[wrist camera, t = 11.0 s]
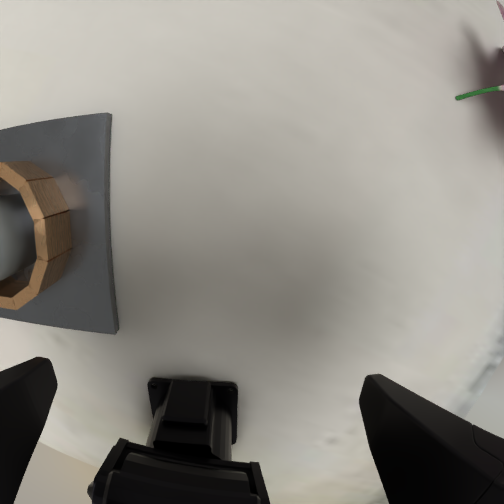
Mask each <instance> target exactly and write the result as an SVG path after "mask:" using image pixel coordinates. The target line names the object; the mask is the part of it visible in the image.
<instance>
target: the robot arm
mask: <svg viewBox="0 0 504 504" xmlns="http://www.w3.org/2000/svg"><path fill="white" fill-rule="evenodd" d="M153 384H156V385H157V386H154V385H153ZM228 389H233V390H232V391H230V390H228ZM56 390H57V379H56V376H55V372H54V369H53V366H52V363H51V361H50V360H49V359H48V358H43V357H35V358H33V359H31V360H28V361H26V362H23V363H21V364H18V365H16V366H13V367H11V368H8V369H6V370H3V371H1V372H0V504H14V501H15V498H16V495H17V492H18V490H19V487H20V484H21V482H22V479H23V476H24V474H25V471H26V468H27V466H28V463H29V461H30V458H31V456H32V454H33V452H34V449H35V447H36V444H37V442H38V440H39V438H40V435H41V433H42V431H43V428H44V425H45V423H46V420H47V417H48V414H49V410H50V408H51V405H52V402H53V399H54V396H55V393H56ZM148 392H149V398H150V403H151V409H152V414H153V423H152V426H151V429H150V433H149V436H148V440H147V443H146V446H144V445H140V444H136V443H132V442H129V441H128V440H126V439H122V438H120V439H119V440H118V442H117V444H116V445H115V446H113V448H112V449H111V451H110V453H109V454H108V456H107V458H106V459H105V461H104V463H103V464H102V466H101V468H100V469H99V471H98V473H97V474H96V476H95V478H94V481H93V482H92V483H91V484H90V485H89V486H88V491H87V493H88V495H89V497H90V498H91V500H92V504H270V501H269V497H268V493H267V490H266V486H265V483H264V479H263V476H262V472H261V469H260V465H259V462H250V463H245V462H236V461H231V445H233V444H235V443H236V439H237V401H238V387H237V385H236V384H234V383H225V382H204V381H187V380H173V379H161V378H151V379H150V380H149V382H148ZM359 405H360V410H361V414H362V418H363V422H364V427H365V431H366V435H367V440H368V444H369V447H370V450H371V454H372V456H373V459H374V462H375V465H376V467H377V470H378V473H379V476H380V479H381V482H382V484H383V487H384V490H385V493H386V496H387V499H388V502H389V504H504V439H503V438H501V437H498V436H496V435H494V434H492V433H490V432H487V431H485V430H483V429H481V428H479V427H478V426H476V425H472V424H471V423H470V422H468V421H466V420H464V419H462V418H460V417H458V416H456V415H454V414H453V413H451V412H449V411H447V410H445V409H443V408H441V407H439V406H438V405H436V404H434V403H432V402H430V401H428V400H426V399H425V398H423V397H421V396H419V395H417V394H415V393H414V392H412V391H410V390H408V389H406V388H405V387H403V386H401V385H399V384H397V383H396V382H394V381H392V380H390V379H389V378H387V377H385V376H383V375H381V374H373V375H368V376H366V378H365V380H364V383H363V387H362V390H361V394H360V398H359Z"/></svg>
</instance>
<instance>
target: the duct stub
mask: <svg viewBox="0 0 504 504" xmlns="http://www.w3.org/2000/svg"><path fill="white" fill-rule="evenodd" d="M36 259H37V252H36V242H35V231H34V221H33V219H32V217H31V215H30V213H29V211H28V209H27V207H26V205H25V202H24V200H23V198H22V196H21V194H12V195H6V196H0V281H1V280H3V279H5V278H7V277H9V276H11V275H13V274H15V273H17V272H18V271H20V270H22V269H24V268H26V267H28V266H30V265H32V264H34V263H35V262H36Z"/></svg>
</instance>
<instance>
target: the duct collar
mask: <svg viewBox="0 0 504 504" xmlns="http://www.w3.org/2000/svg"><path fill="white" fill-rule="evenodd" d="M111 120H112V114H109V113H99V114H90V115H82V116H74V117H67V118H60V119H54V120H48V121H42V122H36V123H31V124H26V125H21V126H16V127H11V128H7V129H2V130H0V196H6V195H12V194H21V196H22V198H23V200H24V202H25V205H26V207H27V209H28V211H29V213H30V215H31V217H32V219H33V221H34V231H35V242H36V252H37V259H36V262H35V263H34V264H32V265H30V266H28V267H26V268H24V269H22V270H20V271H18V272H17V273H15V274H13V275H11V276H9V277H7V278H5V279H3V280H1V281H0V317H2V318H7V319H12V320H17V321H23V322H29V323H34V324H40V325H47V326H53V327H60V328H66V329H74V330H81V331H89V332H97V333H105V334H116V333H117V331H118V330H119V325H118V317H117V309H116V300H115V291H114V280H113V269H112V255H111V238H110V210H109V164H110V137H111Z"/></svg>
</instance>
